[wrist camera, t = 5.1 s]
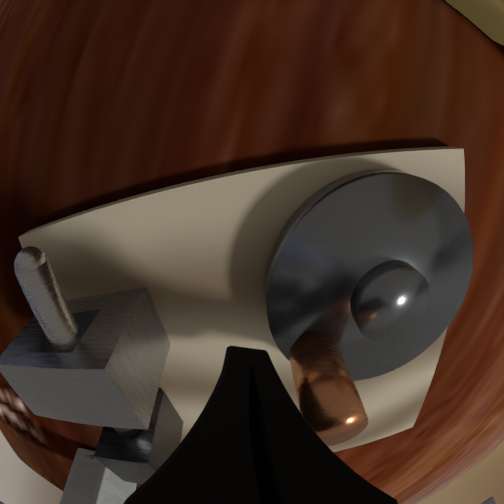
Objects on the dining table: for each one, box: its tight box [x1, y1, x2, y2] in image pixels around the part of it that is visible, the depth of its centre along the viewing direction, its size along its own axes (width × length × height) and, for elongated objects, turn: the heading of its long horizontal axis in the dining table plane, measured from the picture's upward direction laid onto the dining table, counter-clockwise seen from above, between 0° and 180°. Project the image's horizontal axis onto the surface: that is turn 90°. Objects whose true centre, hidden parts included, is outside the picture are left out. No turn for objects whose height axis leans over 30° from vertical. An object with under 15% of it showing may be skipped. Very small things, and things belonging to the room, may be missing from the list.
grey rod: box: [14, 246, 184, 484], centre depth 10 cm, size 12×3×4 cm, turn 11°
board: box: [18, 146, 465, 452], centre depth 14 cm, size 20×20×1 cm
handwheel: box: [264, 169, 473, 446], centre depth 9 cm, size 9×9×5 cm
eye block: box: [0, 287, 171, 429], centre depth 10 cm, size 3×6×5 cm, turn 101°
